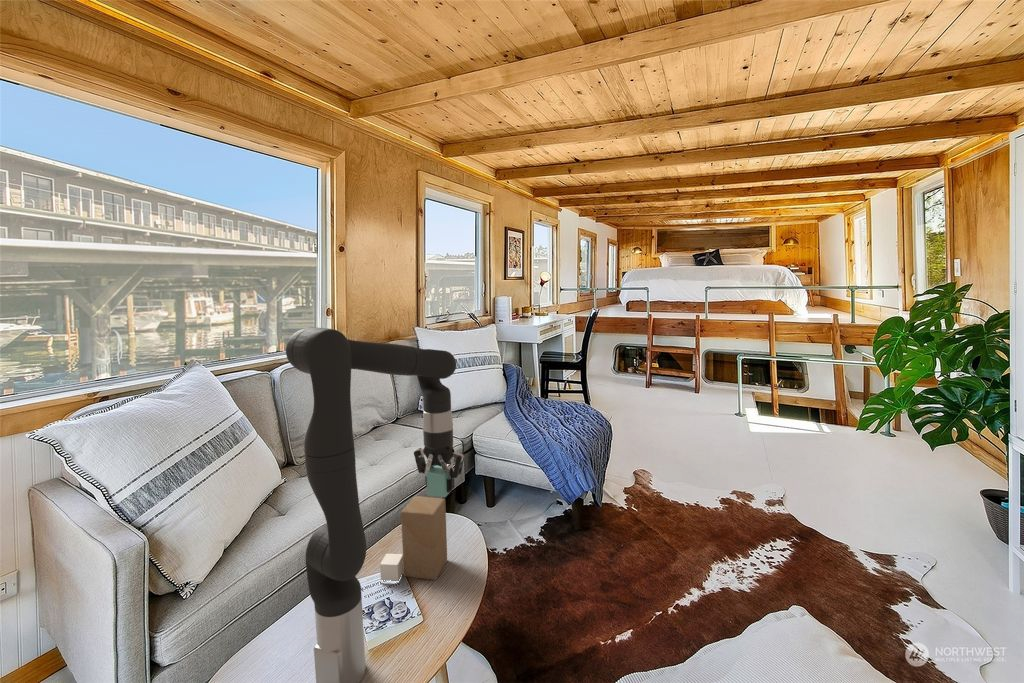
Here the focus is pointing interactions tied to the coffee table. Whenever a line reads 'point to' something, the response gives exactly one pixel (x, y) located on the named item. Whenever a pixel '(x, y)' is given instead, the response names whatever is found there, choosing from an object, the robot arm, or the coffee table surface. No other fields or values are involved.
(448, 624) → the coffee table surface
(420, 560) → the wooden block
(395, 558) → the cream block
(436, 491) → the teal block
